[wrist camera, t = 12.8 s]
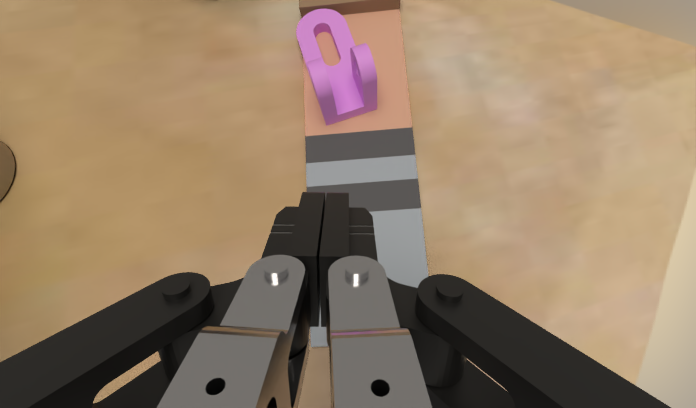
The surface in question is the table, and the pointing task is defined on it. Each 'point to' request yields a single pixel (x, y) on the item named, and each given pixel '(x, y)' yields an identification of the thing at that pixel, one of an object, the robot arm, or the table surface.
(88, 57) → the table surface
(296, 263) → the robot arm
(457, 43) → the table surface
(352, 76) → the bracket
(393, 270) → the lane
